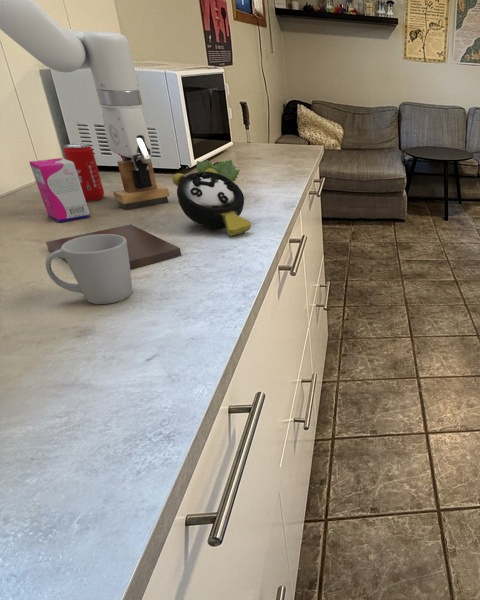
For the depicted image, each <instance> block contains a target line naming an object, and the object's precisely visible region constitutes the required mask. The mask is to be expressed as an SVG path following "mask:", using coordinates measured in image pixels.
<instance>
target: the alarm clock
mask: <svg viewBox="0 0 480 600" xmlns="http://www.w3.org/2000/svg"><path fill="white" fill-rule="evenodd" d="M172 183H173V184H174V185H175V186H177V187H176V196H177V201H178V205H179V207H180V209H181V211H182V212H183V214H184V215H185V216H186V217H187V218H188V219H189V220H190V221H192V222H194V223H195V224H197V225H200V226H203V227H206V228H213V229H214V228H215V229H216V228H223V227H225V229H226V232H227V235H228V236H235V235H239V234H242V233H243V234H244V233H246V232H248V231H250V229H251V227H252V222H251V221H249V220H247V219H245V218H243V217H242V216H240V215H241V214H242V212H243V209H244V206H245V196H244V193H243V190H241V188H240V186H239V185H238V184H236V183H235V181H233V182H232V181H231V180H230V179H228V178H227V177H225V176H222V175H220V174H217V172H216V170H214V169H212V168H209V169H206V171H205V172H193V173H190V174H187V175H184V174H183V173H179V172H178V173H175V174H174V175H172ZM237 185H238V186H237Z"/></svg>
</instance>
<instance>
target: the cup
mask: <svg viewBox="0 0 480 600" xmlns="http://www.w3.org/2000/svg"><path fill="white" fill-rule="evenodd" d="M61 257H63V258H66V260H67V261H66V263H67V265H68V267H69V269H70V271H71V273H72V275H73V278H74V279H75V281H76V282H77V283H71V282H67V281H64V280H62V279H60V277H58V276H57V275H56V274H55V272H54V271H53V269H52V261H53V260H54V259H55V258H56V259H57V258H61ZM45 269H46V273H47V275H48V276H49V278H50V280H51V281H53V283H55V284H56V285H57V286H59V287H60V288H62V289H65V290H66V291H69V292H73V293H77V294H82V295H84V297H85V300H86V301H87V302H89V303H91V304H94V305H109V304H115V303H119V302H121V301H124V300H125V299H128V297H130V296H131V295H132V294H133V287H132V275H131V273H132V272H131V269H130V263H129V256H128V249H127V241H126V239H125V238H124V237H123V236H120V235H114V234H97V235H89V236H83V237H79V238H75V239H72V240H70V241H68V242H66V243H64V244H63V245H62V247H61V249H59V250H57V251H55V252H51V253H49V255H48V256H47V257H46V260H45Z"/></svg>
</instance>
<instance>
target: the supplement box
mask: <svg viewBox="0 0 480 600" xmlns="http://www.w3.org/2000/svg"><path fill="white" fill-rule="evenodd" d="M29 165H30V168H31V171H32V174H33V177H34V180H35V182H36V186H37V189H38V191H39V193H40V194H39V195H40V197H41V199H42V202H43V205H44V208H45V211H46V215H47V216H48V217H49V218H51V219H52V220H54V221H56V222H57V223H65V222H66V223H67V222H70V221H75V220H81V219H87V218H90V217H91V213H90V209H89V207H88V204H87V201H86V200H85V197H84V194H83V191H82V188H81V184H80V181H79V178H78V175H77V172H76V168H75V165H74V162H72V161H69V160H66V158H63V157H60V158H49V159H41V160H40V159H39V160H30V161H29Z"/></svg>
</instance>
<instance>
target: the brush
mask: <svg viewBox="0 0 480 600" xmlns="http://www.w3.org/2000/svg"><path fill="white" fill-rule="evenodd" d="M137 160H138V159H136V161H137ZM116 162H117V167H118V170H119V175H120V179H121V182H122V185H123V186H122V187H123V189H122V190H116V191H112V193H113V197H114V200H115V202H118V207H119V208H121V209H124V210H125V211H129V210H134V209H140V208H146V207H152V206H157V205H163V204H167V203H169V198H168V197H170V191H169V188H168V187H166V186H164V185H161V184H157V181H156V176H155V171H154V167H153V163H152V161H151V162H149V163H148V166H149V174H150V179H151V183H152V187H148V188H141V189H138V188H136V185H135V181H134V177H133V173H132V171H133V170H134V169H133V165H132V161H131V160H126V161H122V160H117V161H116Z"/></svg>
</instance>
